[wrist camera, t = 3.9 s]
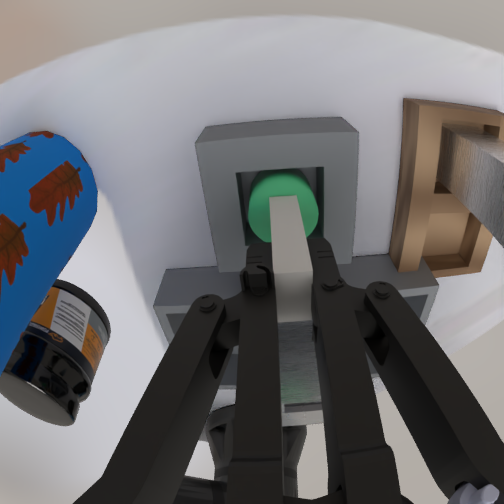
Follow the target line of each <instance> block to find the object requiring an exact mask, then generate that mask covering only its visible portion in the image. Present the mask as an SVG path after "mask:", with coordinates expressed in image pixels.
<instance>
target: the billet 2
mask: <svg viewBox="0 0 504 504" xmlns="http://www.w3.org/2000/svg"><path fill="white" fill-rule="evenodd" d="M436 179H437V180H438V181H440V182H441V183H442V184H443V185H444V186H445V187H446V188H447V189H448V190H449V191H450V192H451V193H452V194H453V195H454V196H455V197H456V198H458V199H459V200H460V201H461V202H462V203H463V204H464V205H465V206H466V207H467V208H468V209H469V210H470V211H471V213H472V214H473V215H474V216H475V217H476V218H477V219H478V220H479V221H480V222H481V223H482V224H483V225H484V226H485V227H486V228H487V229H488V231H489V232H490V233H491V234H492V235H493V236H494V237H495V238H496V240H497V241H498V242H499V243H500V244H501V245H502V246H503V248H504V141H503V140H501V139H499V138H497V137H495V136H494V135H492V134H490V133H488V132H486V131H484V130H483V129H481V128H479V127H475V126H467V125H458V124H448V123H442V129H441V140H440V150H439V159H438V167H437V175H436Z"/></svg>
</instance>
